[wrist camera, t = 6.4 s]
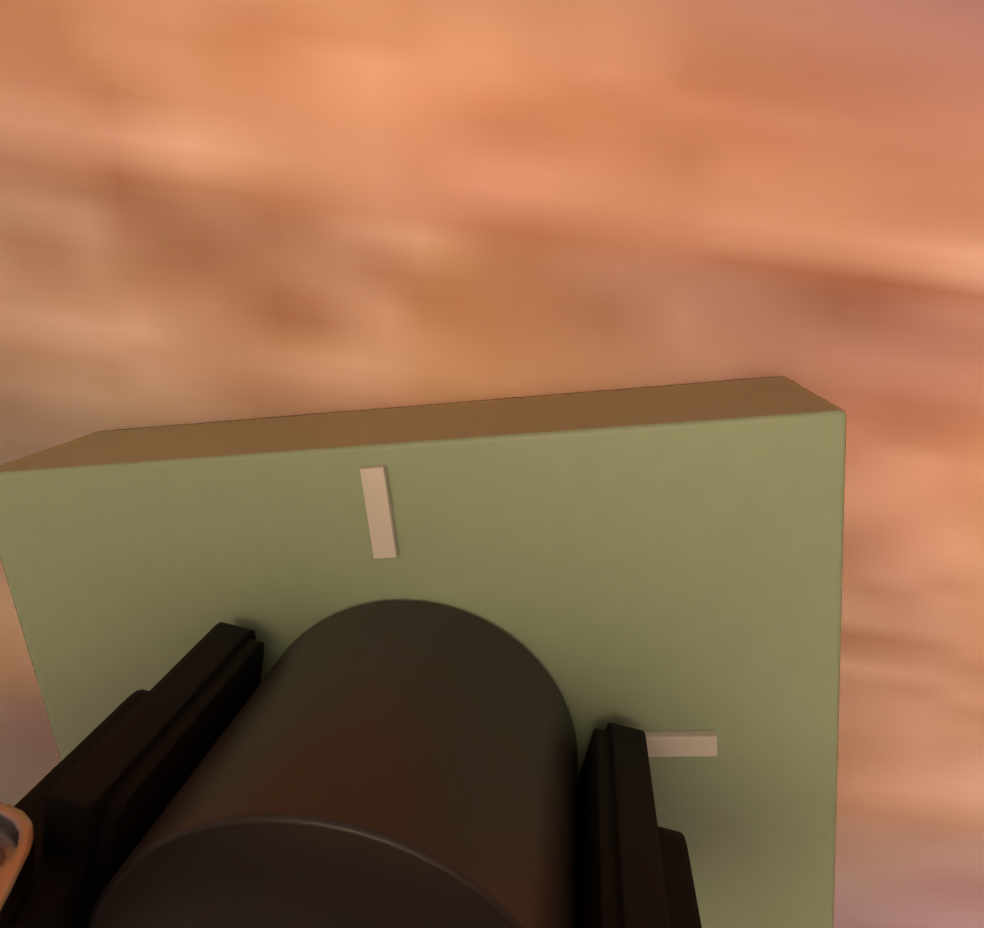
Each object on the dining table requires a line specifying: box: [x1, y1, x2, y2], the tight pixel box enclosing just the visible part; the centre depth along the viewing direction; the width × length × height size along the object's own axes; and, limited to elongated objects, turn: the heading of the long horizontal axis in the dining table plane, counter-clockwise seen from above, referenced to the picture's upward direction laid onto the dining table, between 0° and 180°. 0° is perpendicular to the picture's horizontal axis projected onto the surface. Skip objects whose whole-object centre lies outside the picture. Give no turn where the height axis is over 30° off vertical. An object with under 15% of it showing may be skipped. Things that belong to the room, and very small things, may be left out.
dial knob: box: [87, 601, 578, 928], centre depth 9 cm, size 5×5×5 cm
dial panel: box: [0, 376, 846, 928], centre depth 13 cm, size 13×10×3 cm
